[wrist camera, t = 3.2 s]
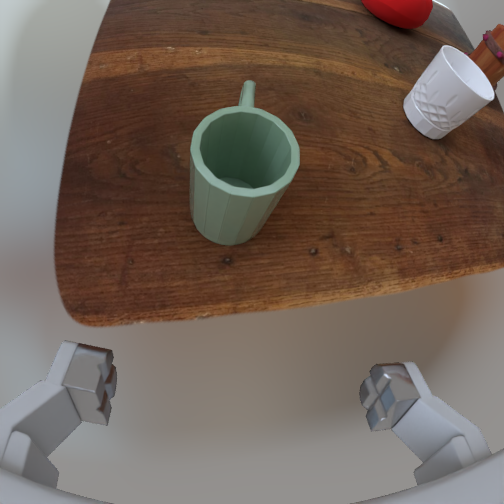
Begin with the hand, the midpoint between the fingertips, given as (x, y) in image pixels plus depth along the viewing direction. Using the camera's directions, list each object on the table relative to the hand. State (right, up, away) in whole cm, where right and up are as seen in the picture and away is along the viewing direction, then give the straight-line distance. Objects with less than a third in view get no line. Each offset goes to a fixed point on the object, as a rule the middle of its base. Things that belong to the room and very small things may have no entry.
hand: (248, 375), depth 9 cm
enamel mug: (-2, +9, +17) cm, 19 cm away
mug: (+39, +34, +31) cm, 61 cm away
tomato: (+23, +44, +31) cm, 58 cm away
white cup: (+22, +20, +24) cm, 39 cm away
